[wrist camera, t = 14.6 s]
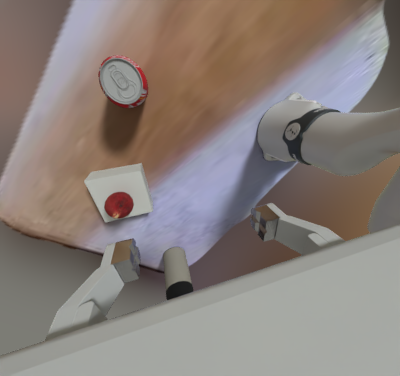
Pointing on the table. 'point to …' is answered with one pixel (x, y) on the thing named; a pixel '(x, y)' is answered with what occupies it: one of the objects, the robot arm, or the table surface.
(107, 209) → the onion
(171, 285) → the travel mug
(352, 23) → the table surface
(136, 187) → the grey block
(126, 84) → the soda can
